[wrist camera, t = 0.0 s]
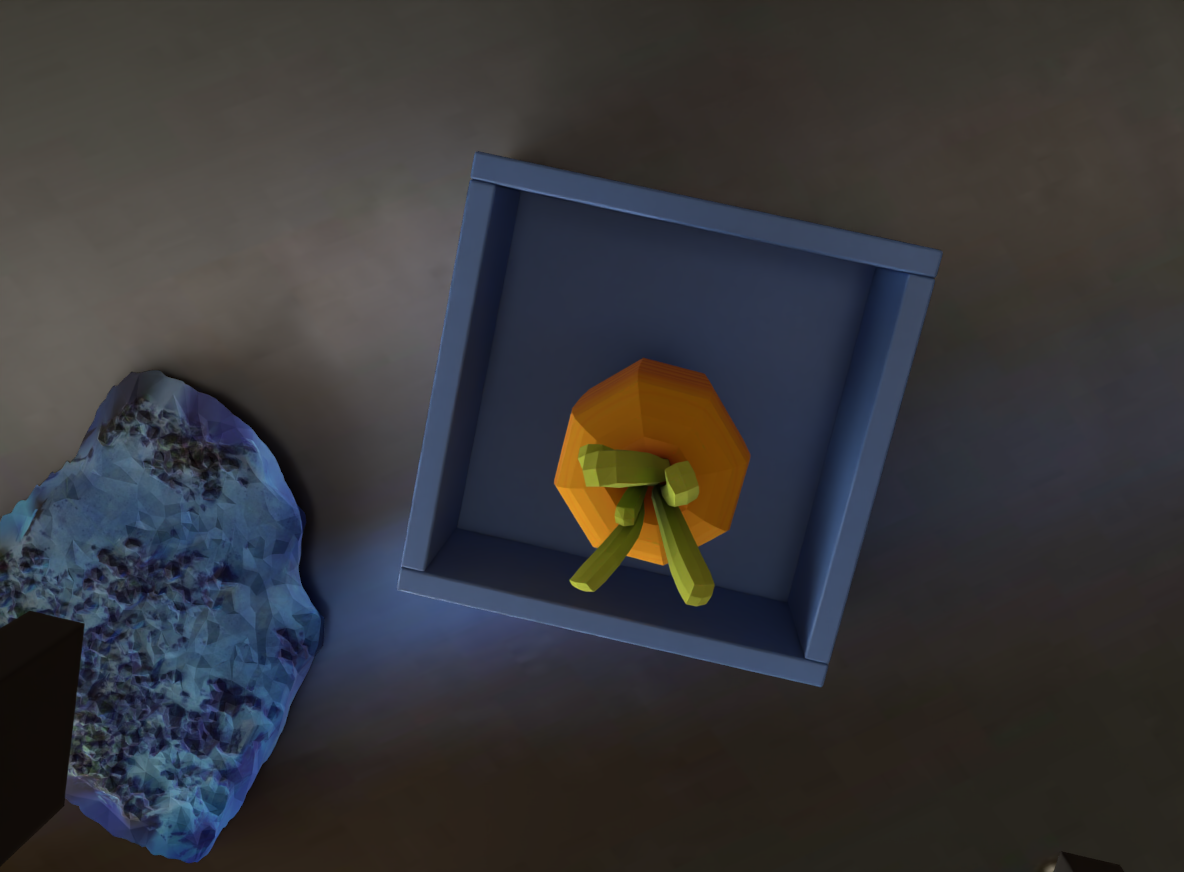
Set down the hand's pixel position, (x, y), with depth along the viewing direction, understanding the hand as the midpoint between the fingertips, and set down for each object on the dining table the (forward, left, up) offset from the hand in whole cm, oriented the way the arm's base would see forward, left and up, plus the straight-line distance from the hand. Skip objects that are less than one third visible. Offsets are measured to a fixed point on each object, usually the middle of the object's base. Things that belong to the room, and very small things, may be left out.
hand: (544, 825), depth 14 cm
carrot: (-2, +1, -23) cm, 23 cm away
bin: (-2, +1, -24) cm, 24 cm away
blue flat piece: (+10, -16, -24) cm, 31 cm away
